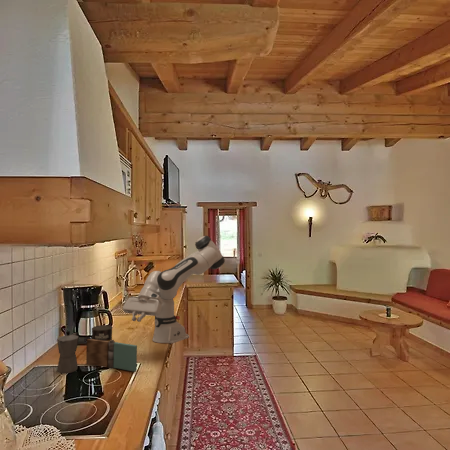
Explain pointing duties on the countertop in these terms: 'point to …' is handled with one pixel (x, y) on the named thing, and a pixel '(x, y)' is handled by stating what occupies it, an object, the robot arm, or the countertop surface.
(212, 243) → the robot arm
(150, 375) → the countertop surface
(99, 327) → the coffee can
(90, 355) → the dark wooden block
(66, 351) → the coffeepot
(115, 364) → the teal flat block
